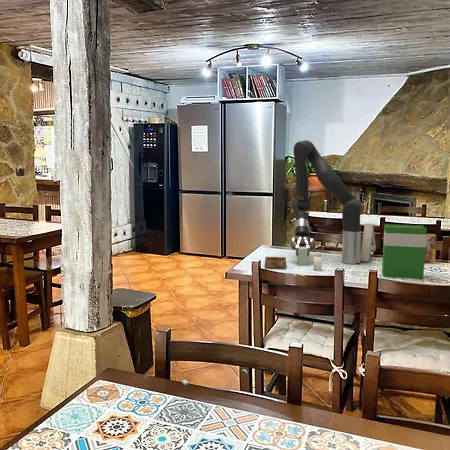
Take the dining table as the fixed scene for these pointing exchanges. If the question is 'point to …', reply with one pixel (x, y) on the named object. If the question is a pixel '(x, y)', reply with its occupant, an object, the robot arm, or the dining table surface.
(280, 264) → the walnut caddy
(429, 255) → the candy box
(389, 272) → the hardback book
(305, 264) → the sage block
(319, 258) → the salt shaker
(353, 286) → the dining table surface
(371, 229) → the wall bracket
